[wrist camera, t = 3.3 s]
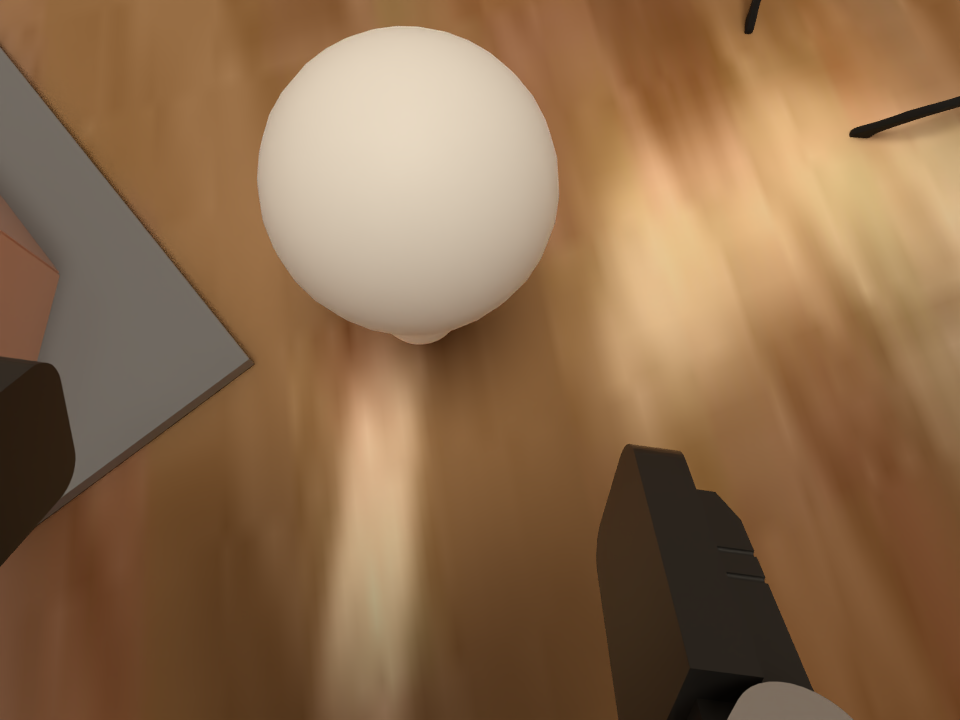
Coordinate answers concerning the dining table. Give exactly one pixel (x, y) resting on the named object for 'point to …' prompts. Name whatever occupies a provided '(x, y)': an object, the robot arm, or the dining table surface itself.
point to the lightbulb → (408, 181)
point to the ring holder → (95, 294)
